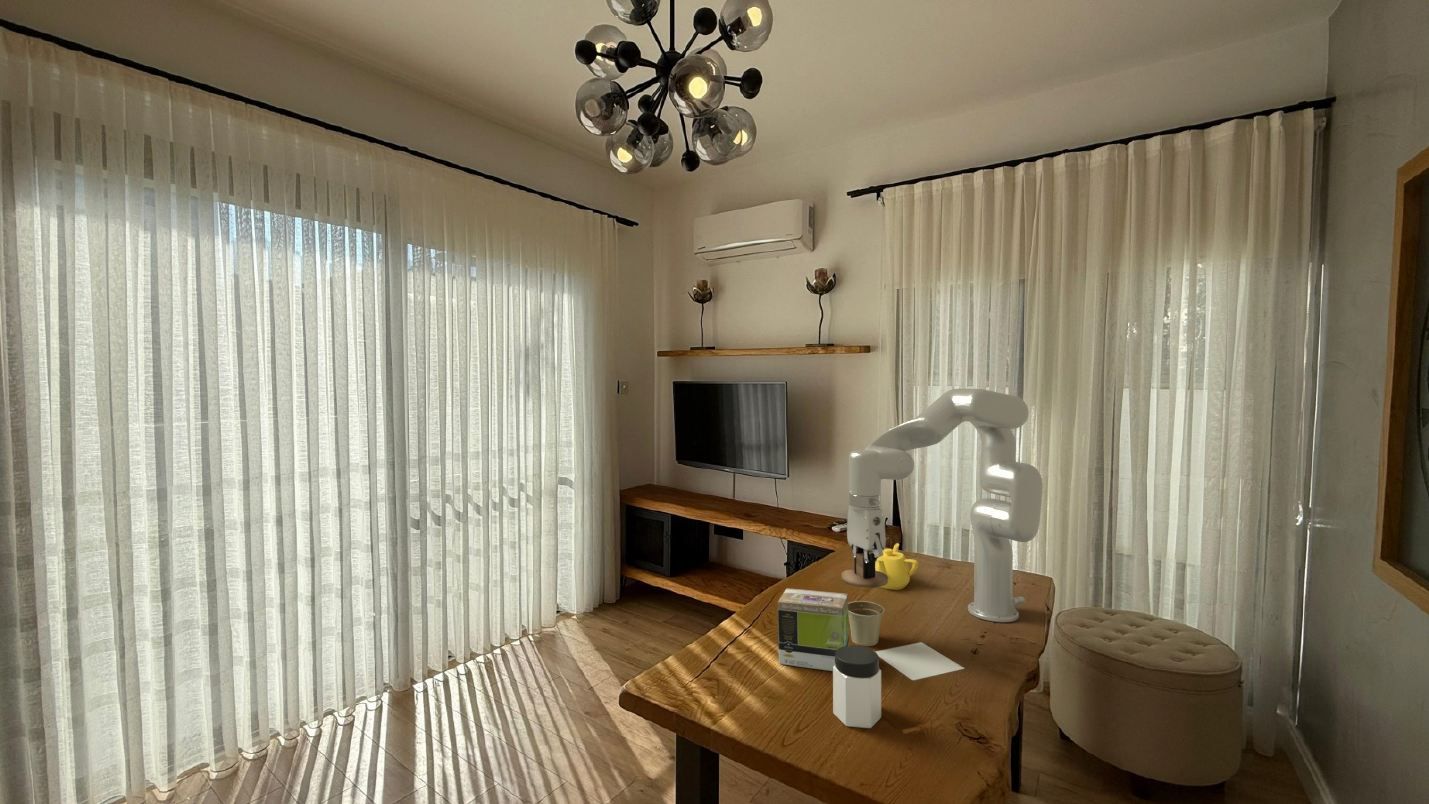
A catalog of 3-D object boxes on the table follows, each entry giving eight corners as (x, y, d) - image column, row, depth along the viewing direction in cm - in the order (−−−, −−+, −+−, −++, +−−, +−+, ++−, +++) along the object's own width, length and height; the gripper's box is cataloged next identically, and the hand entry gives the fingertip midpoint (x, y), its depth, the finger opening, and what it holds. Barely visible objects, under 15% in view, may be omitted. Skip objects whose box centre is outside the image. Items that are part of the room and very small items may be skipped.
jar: (848, 698, 117) (848, 640, 117) (886, 713, 112) (886, 652, 112) (826, 718, 111) (826, 656, 110) (866, 735, 105) (866, 670, 105)
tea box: (849, 654, 137) (849, 592, 136) (844, 675, 127) (844, 608, 127) (786, 646, 141) (786, 585, 141) (777, 665, 132) (776, 600, 131)
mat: (921, 644, 141) (921, 642, 141) (964, 671, 128) (964, 668, 128) (872, 654, 136) (872, 652, 136) (912, 683, 123) (912, 680, 123)
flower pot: (886, 653, 137) (886, 616, 137) (845, 649, 139) (845, 614, 139) (883, 636, 146) (883, 602, 146) (844, 633, 148) (844, 599, 148)
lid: (869, 570, 149) (869, 546, 149) (897, 584, 139) (897, 558, 139) (832, 575, 145) (832, 551, 145) (858, 590, 135) (858, 563, 135)
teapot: (910, 599, 171) (910, 563, 170) (858, 590, 179) (858, 555, 178) (925, 577, 189) (926, 545, 189) (878, 570, 198) (878, 538, 197)
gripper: (899, 506, 135) (898, 584, 136) (858, 494, 150) (858, 564, 151) (871, 508, 133) (871, 588, 133) (833, 496, 148) (833, 567, 148)
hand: (864, 575), depth 142 cm, fingers closed on lid, 2 cm apart
